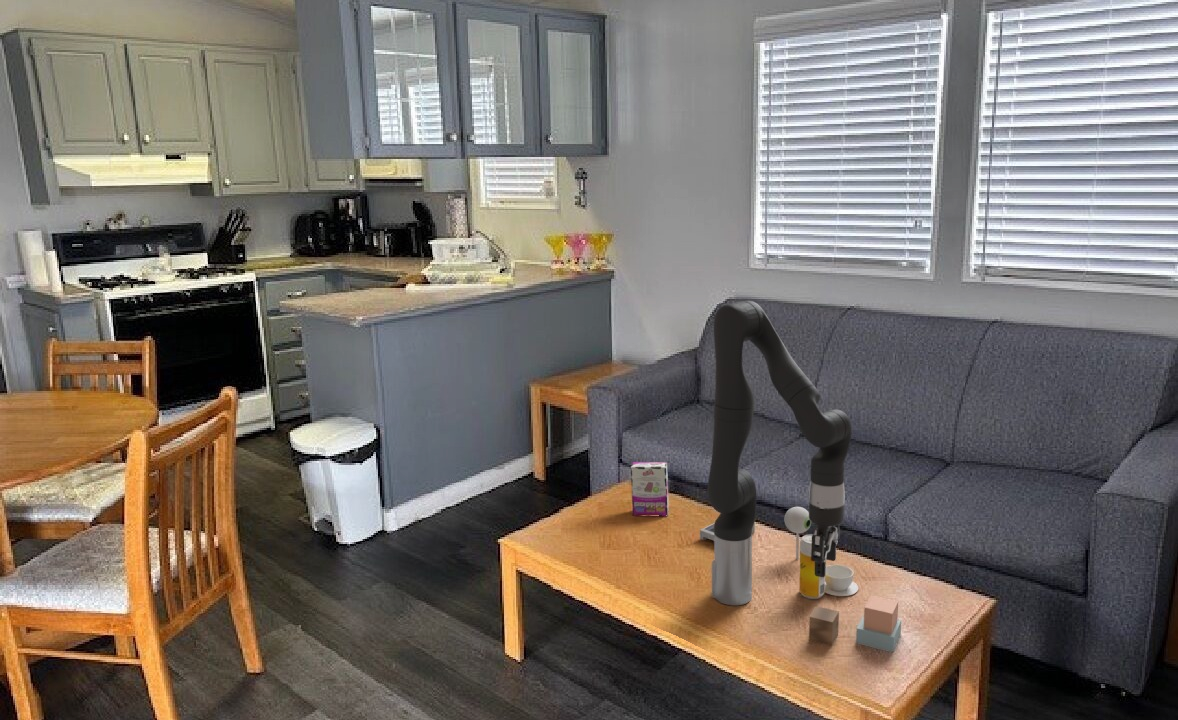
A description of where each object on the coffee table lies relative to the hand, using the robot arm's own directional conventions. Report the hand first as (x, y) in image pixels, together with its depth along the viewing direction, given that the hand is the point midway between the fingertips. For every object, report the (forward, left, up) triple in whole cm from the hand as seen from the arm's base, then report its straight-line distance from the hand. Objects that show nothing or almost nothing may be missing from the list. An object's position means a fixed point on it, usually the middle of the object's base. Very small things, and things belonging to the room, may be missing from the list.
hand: (825, 567), depth 185 cm
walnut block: (0, 0, -17) cm, 17 cm away
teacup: (-3, +24, -18) cm, 30 cm away
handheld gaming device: (-39, +40, -18) cm, 59 cm away
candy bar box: (-67, +45, -18) cm, 83 cm away
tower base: (+11, +5, -18) cm, 21 cm away
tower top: (+11, +5, -14) cm, 18 cm away
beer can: (-8, +18, -18) cm, 26 cm away
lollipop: (-17, +35, -18) cm, 43 cm away
